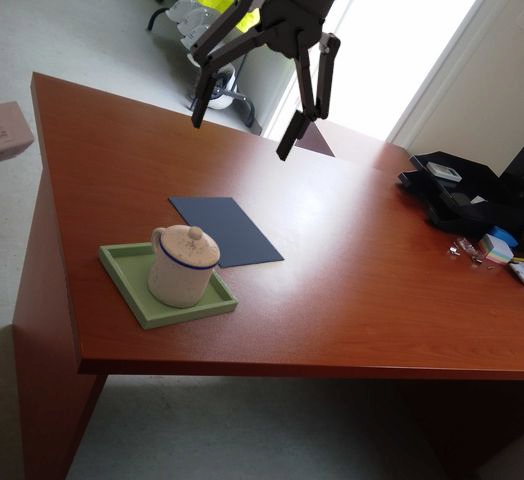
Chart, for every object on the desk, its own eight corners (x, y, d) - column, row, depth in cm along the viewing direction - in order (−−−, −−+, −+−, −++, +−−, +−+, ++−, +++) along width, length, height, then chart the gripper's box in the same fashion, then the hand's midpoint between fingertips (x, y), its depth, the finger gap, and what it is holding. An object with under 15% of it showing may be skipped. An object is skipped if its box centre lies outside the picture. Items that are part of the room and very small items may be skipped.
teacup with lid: (213, 301, 74) (239, 245, 66) (169, 317, 67) (193, 256, 60) (168, 253, 77) (188, 194, 69) (122, 264, 71) (139, 200, 63)
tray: (97, 256, 70) (99, 245, 69) (187, 248, 81) (191, 239, 79) (144, 330, 64) (147, 320, 63) (234, 310, 75) (239, 302, 74)
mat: (167, 198, 88) (168, 197, 88) (231, 198, 99) (231, 197, 99) (221, 268, 81) (221, 267, 81) (284, 260, 91) (284, 259, 91)
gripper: (222, -96, 43) (156, 120, 56) (407, 26, 56) (318, 180, 69) (208, -106, 48) (150, 96, 61) (382, 9, 60) (303, 156, 73)
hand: (239, 141), depth 65 cm, fingers open, 13 cm apart
